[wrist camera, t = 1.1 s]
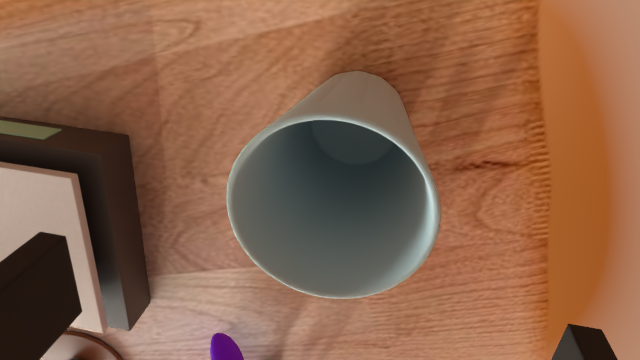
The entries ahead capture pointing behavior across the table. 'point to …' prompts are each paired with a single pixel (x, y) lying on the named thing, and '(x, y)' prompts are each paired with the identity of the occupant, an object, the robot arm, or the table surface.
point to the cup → (336, 192)
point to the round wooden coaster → (79, 348)
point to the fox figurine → (224, 348)
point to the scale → (77, 213)
